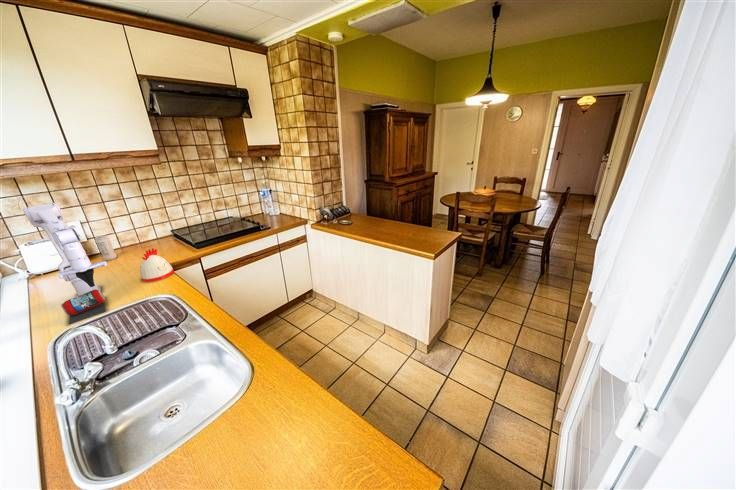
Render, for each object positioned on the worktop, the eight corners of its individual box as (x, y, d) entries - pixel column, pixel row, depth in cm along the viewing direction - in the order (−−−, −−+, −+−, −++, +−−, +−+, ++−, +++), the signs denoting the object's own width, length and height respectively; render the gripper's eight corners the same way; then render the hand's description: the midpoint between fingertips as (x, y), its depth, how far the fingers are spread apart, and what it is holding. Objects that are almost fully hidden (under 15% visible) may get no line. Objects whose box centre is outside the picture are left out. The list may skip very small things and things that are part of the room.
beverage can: (102, 298, 115) (64, 314, 107) (108, 303, 120) (72, 318, 112) (95, 286, 116) (57, 301, 108) (101, 291, 121) (65, 306, 113)
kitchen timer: (179, 269, 148) (170, 245, 142) (157, 282, 136) (146, 256, 130) (158, 268, 151) (148, 244, 145) (135, 281, 138) (123, 255, 132)
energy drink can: (119, 257, 170) (109, 235, 164) (109, 261, 164) (98, 238, 159) (112, 256, 171) (102, 235, 165) (102, 260, 166) (91, 238, 160)
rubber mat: (71, 308, 118) (70, 307, 118) (104, 297, 125) (103, 296, 125) (69, 324, 107) (68, 323, 107) (105, 311, 114) (105, 310, 114)
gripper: (50, 267, 102) (68, 296, 107) (101, 254, 111) (115, 282, 116) (52, 261, 106) (69, 290, 112) (100, 250, 116) (114, 277, 121)
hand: (92, 285), depth 114 cm, fingers closed
